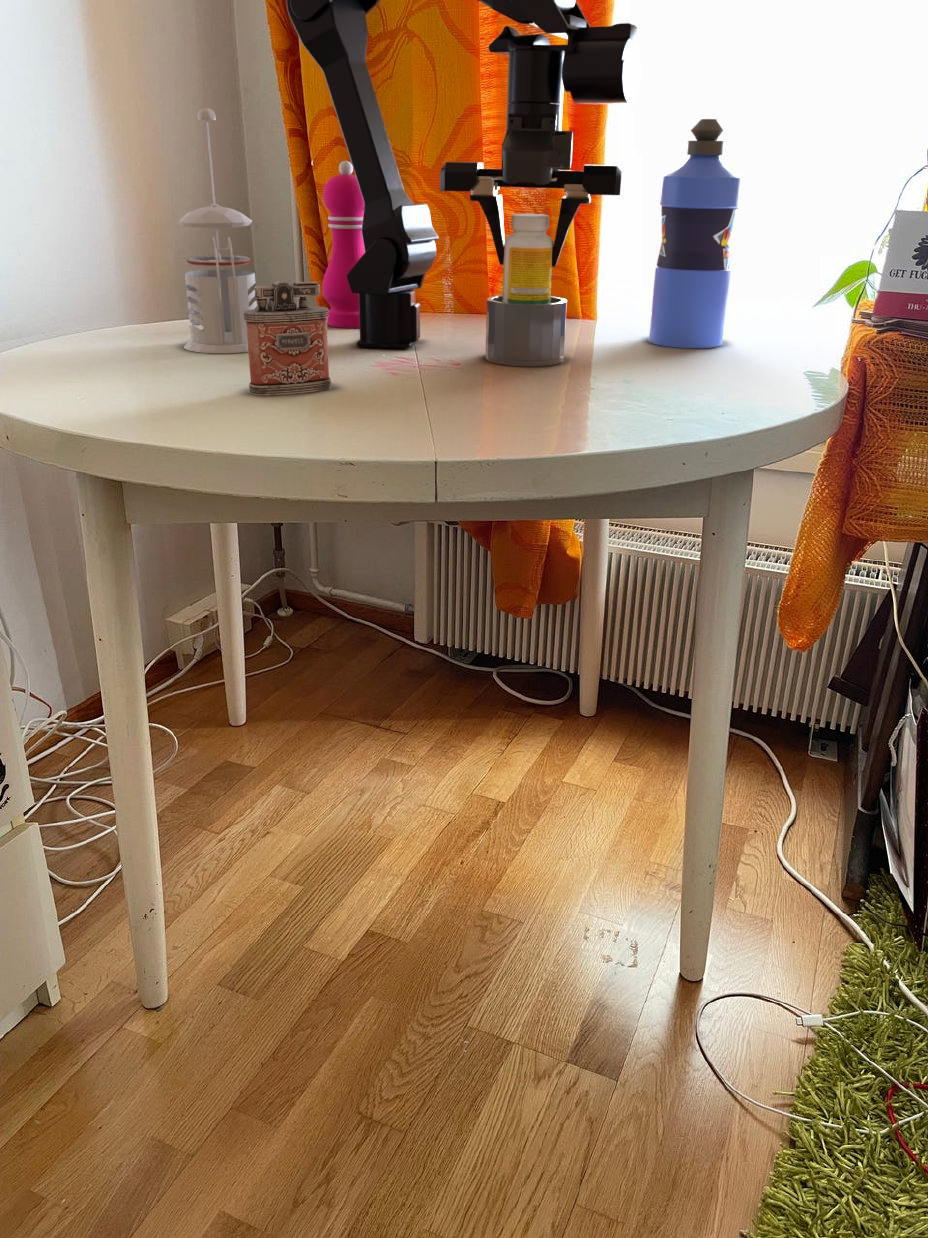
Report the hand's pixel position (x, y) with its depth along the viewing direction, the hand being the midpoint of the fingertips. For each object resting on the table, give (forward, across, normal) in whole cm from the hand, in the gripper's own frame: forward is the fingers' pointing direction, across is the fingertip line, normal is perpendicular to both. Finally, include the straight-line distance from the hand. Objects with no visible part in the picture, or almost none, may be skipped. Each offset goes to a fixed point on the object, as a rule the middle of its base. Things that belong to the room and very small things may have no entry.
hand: (527, 265), depth 108 cm
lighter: (+10, -21, -21) cm, 31 cm away
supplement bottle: (+5, 0, 0) cm, 5 cm away
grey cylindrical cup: (+10, 0, 0) cm, 10 cm away
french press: (+10, -35, 0) cm, 36 cm away
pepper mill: (+10, -25, +20) cm, 34 cm away
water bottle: (+10, +19, +16) cm, 27 cm away
